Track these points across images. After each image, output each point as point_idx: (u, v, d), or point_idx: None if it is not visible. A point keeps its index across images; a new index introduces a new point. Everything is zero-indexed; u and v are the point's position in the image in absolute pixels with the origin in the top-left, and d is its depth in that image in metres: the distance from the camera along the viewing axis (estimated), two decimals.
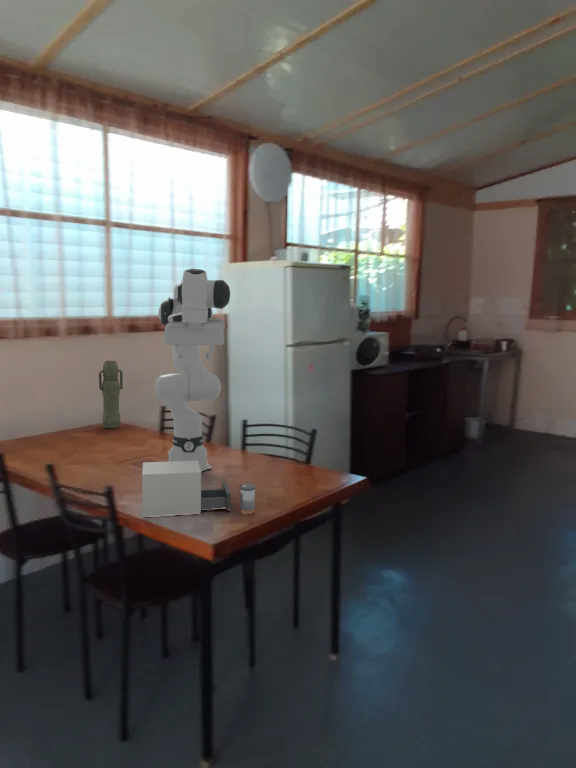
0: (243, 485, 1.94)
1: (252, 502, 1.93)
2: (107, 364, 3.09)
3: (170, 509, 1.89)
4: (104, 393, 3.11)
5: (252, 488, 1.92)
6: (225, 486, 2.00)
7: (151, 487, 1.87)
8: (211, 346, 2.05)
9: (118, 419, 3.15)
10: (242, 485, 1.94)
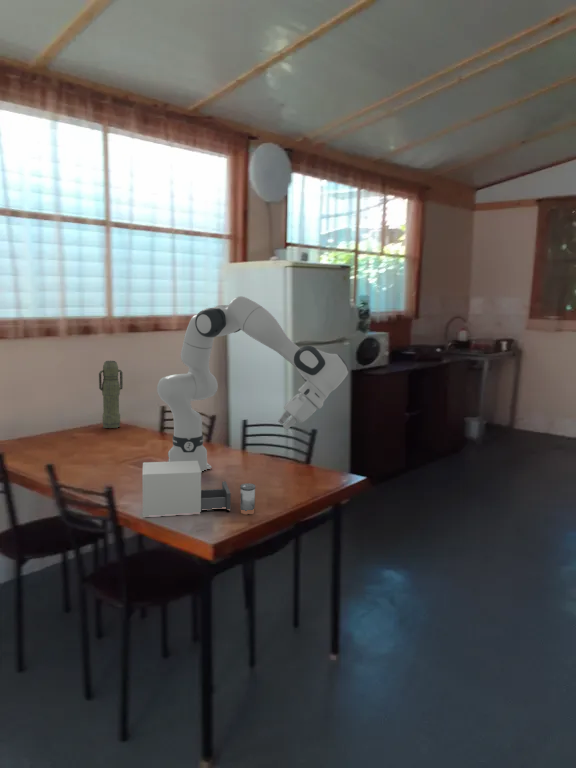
0: (243, 485, 1.94)
1: (252, 502, 1.93)
2: (107, 364, 3.09)
3: (170, 509, 1.89)
4: (104, 393, 3.11)
5: (252, 488, 1.92)
6: (225, 486, 2.00)
7: (151, 487, 1.87)
8: None
9: (118, 419, 3.15)
10: (242, 485, 1.94)
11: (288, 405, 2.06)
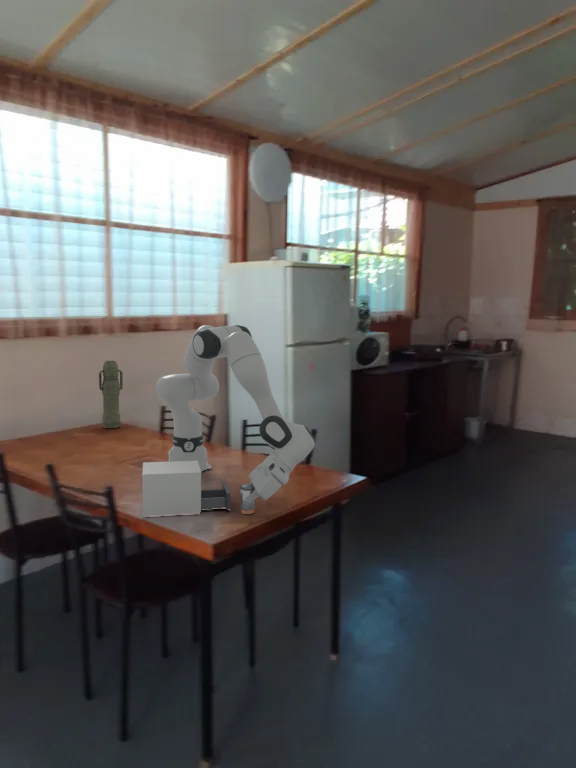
0: (243, 485, 1.94)
1: (252, 502, 1.93)
2: (107, 364, 3.09)
3: (170, 509, 1.89)
4: (104, 393, 3.11)
5: (252, 488, 1.92)
6: (225, 486, 2.00)
7: (151, 487, 1.87)
8: None
9: (118, 419, 3.15)
10: (242, 485, 1.94)
11: (253, 475, 2.00)
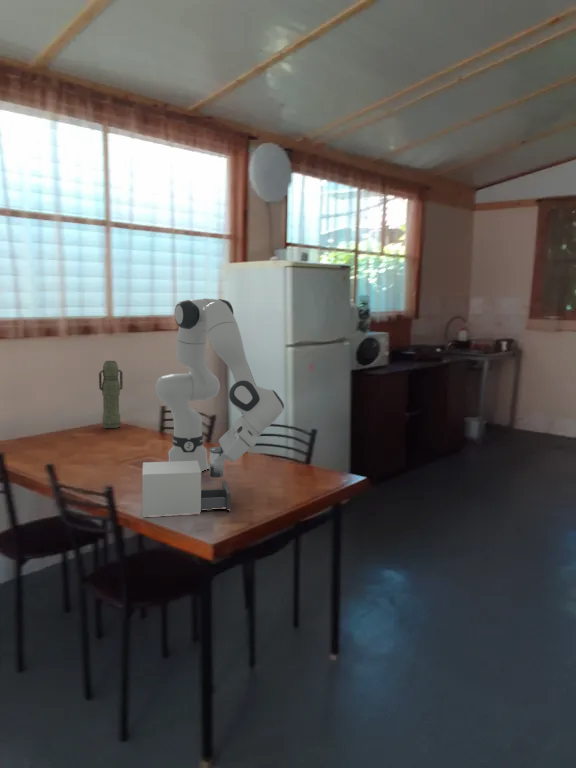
0: (212, 448, 1.96)
1: (221, 465, 1.96)
2: (107, 364, 3.09)
3: (170, 509, 1.89)
4: (104, 393, 3.11)
5: (221, 451, 1.95)
6: (225, 486, 2.00)
7: (151, 487, 1.87)
8: None
9: (118, 419, 3.15)
10: (211, 448, 1.96)
11: (222, 439, 2.02)
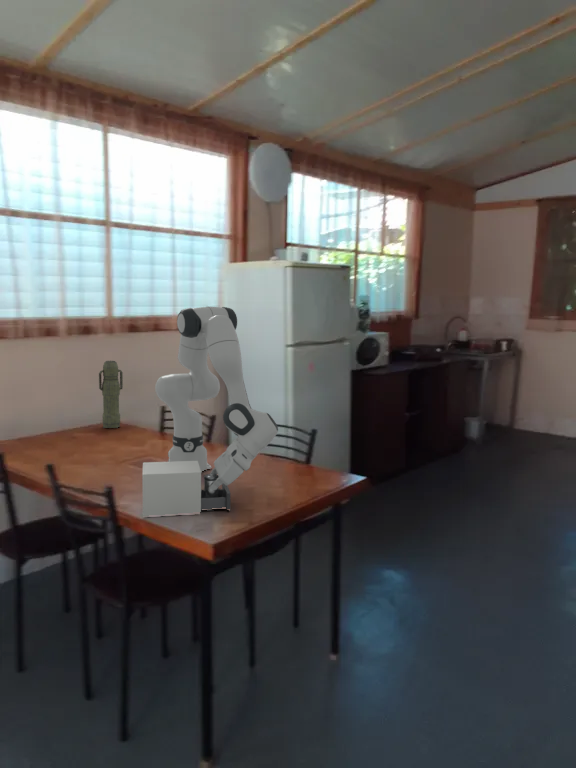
0: (207, 475, 1.98)
1: (215, 492, 1.97)
2: (107, 364, 3.09)
3: (170, 509, 1.89)
4: (104, 393, 3.11)
5: (215, 478, 1.96)
6: (225, 486, 2.00)
7: (151, 487, 1.87)
8: None
9: (118, 419, 3.15)
10: (206, 475, 1.98)
11: (217, 462, 2.04)
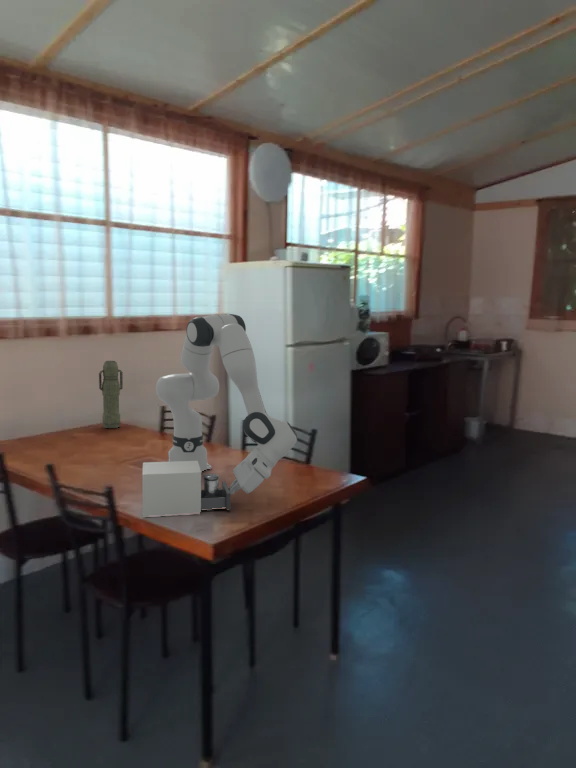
0: (207, 475, 1.98)
1: (215, 492, 1.97)
2: (107, 364, 3.09)
3: (170, 509, 1.89)
4: (104, 393, 3.11)
5: (215, 479, 1.96)
6: (225, 486, 2.00)
7: (151, 487, 1.87)
8: None
9: (118, 419, 3.15)
10: (206, 475, 1.98)
11: (237, 470, 2.06)
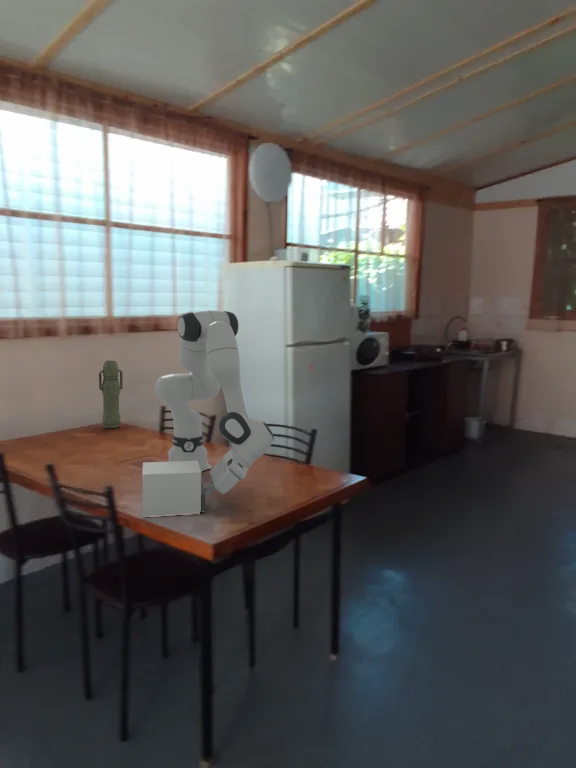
0: None
1: None
2: (107, 364, 3.09)
3: (170, 509, 1.89)
4: (104, 393, 3.11)
5: None
6: (201, 487, 1.99)
7: (151, 487, 1.87)
8: None
9: (118, 419, 3.15)
10: None
11: (213, 470, 2.04)
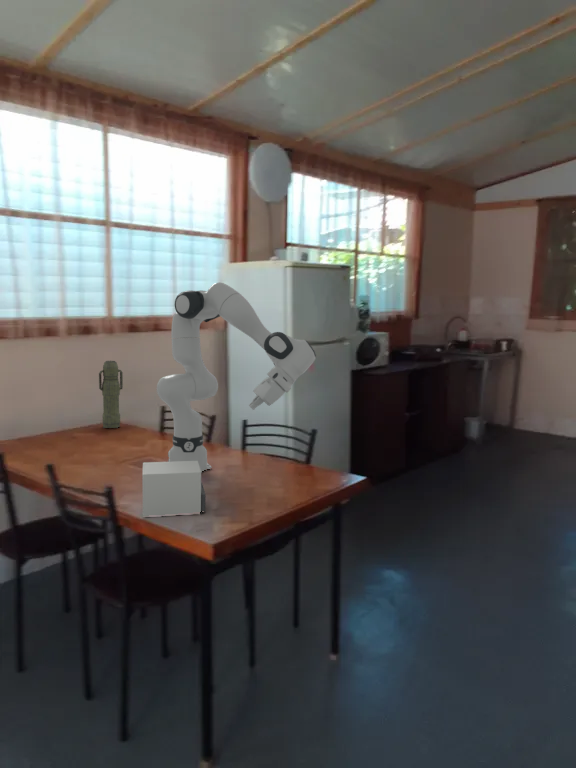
0: None
1: None
2: (107, 364, 3.09)
3: (170, 509, 1.89)
4: (104, 393, 3.11)
5: None
6: (201, 487, 1.99)
7: (151, 487, 1.87)
8: None
9: (118, 419, 3.15)
10: None
11: (257, 388, 2.13)
